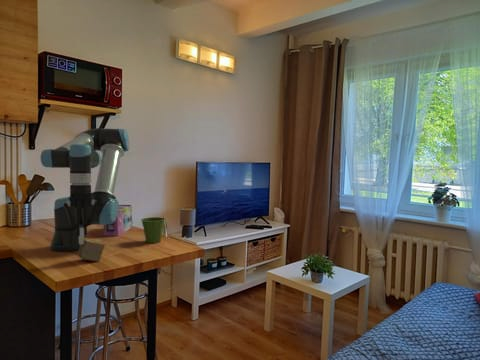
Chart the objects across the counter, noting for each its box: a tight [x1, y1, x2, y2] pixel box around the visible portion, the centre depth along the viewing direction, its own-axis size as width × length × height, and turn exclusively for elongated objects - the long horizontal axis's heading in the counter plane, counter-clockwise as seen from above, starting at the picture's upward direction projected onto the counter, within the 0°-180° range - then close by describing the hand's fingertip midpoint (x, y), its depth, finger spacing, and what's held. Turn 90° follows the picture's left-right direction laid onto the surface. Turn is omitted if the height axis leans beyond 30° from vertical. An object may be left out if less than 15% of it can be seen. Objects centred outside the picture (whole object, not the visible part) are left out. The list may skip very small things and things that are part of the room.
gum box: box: [103, 204, 133, 237], centre depth 192 cm, size 24×8×14 cm, turn 179°
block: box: [77, 237, 106, 262], centre depth 139 cm, size 7×7×7 cm
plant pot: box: [140, 216, 166, 244], centre depth 171 cm, size 12×12×11 cm
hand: (81, 243), depth 137 cm, fingers closed
